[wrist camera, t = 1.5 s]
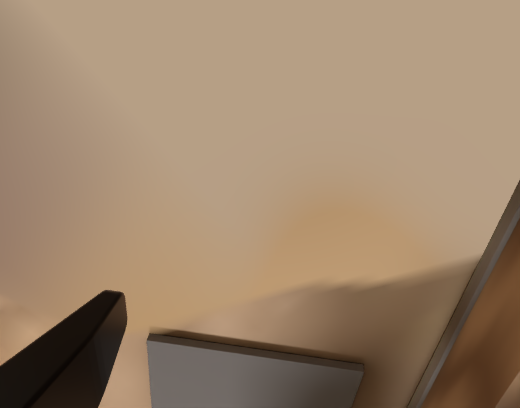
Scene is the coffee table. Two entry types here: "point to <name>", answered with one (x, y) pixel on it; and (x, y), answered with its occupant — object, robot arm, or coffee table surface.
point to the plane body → (482, 331)
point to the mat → (244, 377)
